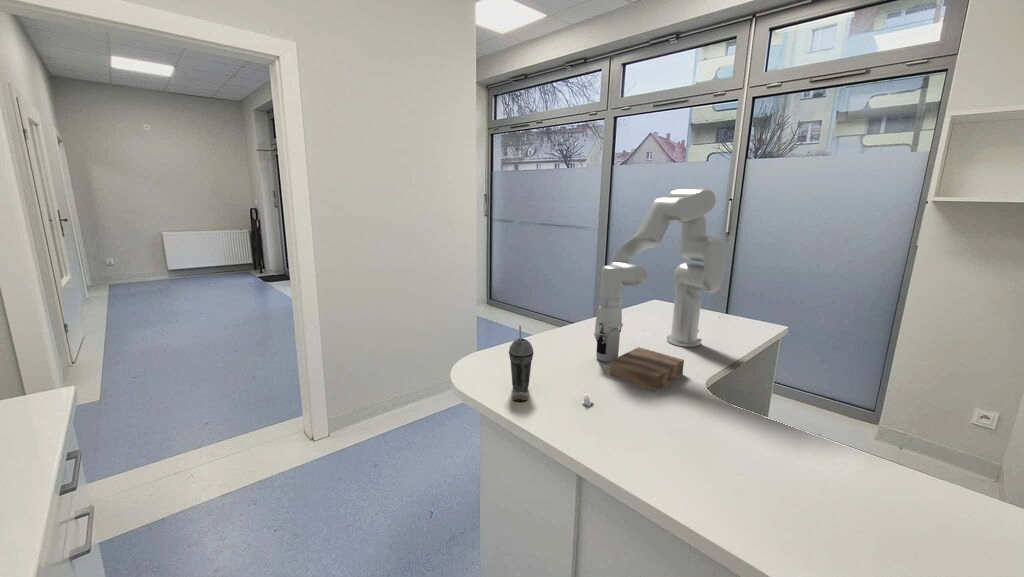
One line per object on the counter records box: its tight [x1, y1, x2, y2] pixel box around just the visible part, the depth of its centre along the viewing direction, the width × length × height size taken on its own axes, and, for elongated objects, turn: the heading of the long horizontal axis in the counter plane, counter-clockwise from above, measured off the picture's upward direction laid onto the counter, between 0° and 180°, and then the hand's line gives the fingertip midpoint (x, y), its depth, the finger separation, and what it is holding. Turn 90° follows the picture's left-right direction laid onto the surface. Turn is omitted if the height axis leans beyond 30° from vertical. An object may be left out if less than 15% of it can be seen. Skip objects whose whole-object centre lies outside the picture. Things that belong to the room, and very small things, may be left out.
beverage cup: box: [508, 325, 534, 393], centre depth 123 cm, size 7×7×20 cm
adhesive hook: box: [581, 393, 595, 407], centre depth 116 cm, size 3×3×3 cm
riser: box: [609, 346, 685, 392], centre depth 136 cm, size 18×16×5 cm
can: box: [595, 328, 621, 363], centre depth 147 cm, size 8×8×12 cm
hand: (607, 350), depth 148 cm, fingers closed on can, 7 cm apart
